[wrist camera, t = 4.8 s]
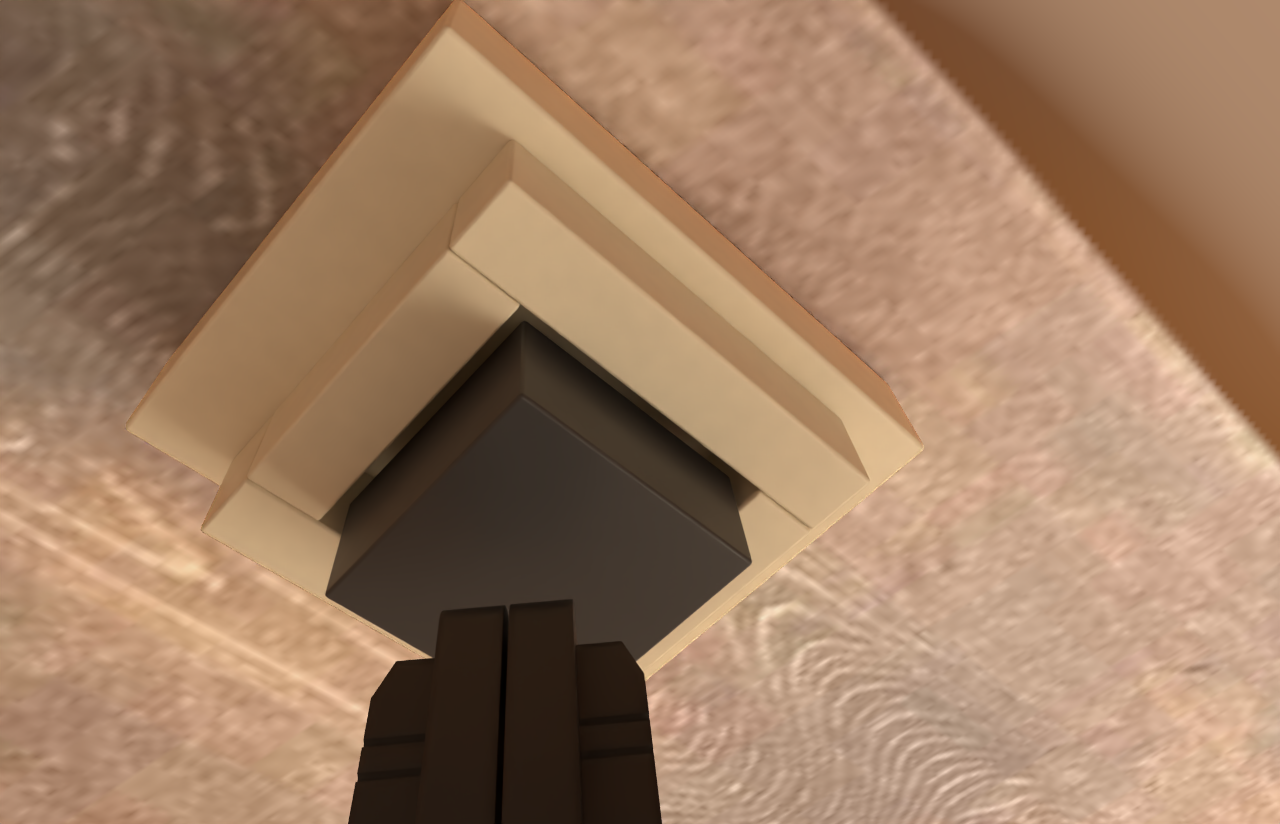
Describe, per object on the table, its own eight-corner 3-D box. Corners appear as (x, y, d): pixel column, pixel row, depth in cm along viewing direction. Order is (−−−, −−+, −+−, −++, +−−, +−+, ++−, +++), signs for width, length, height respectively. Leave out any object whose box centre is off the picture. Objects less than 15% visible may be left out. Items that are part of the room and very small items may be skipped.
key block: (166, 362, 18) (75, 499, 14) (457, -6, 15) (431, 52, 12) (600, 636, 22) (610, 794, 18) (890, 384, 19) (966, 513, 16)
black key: (348, 504, 15) (322, 597, 13) (524, 317, 14) (521, 393, 12) (554, 632, 17) (556, 730, 15) (730, 476, 15) (754, 563, 14)
